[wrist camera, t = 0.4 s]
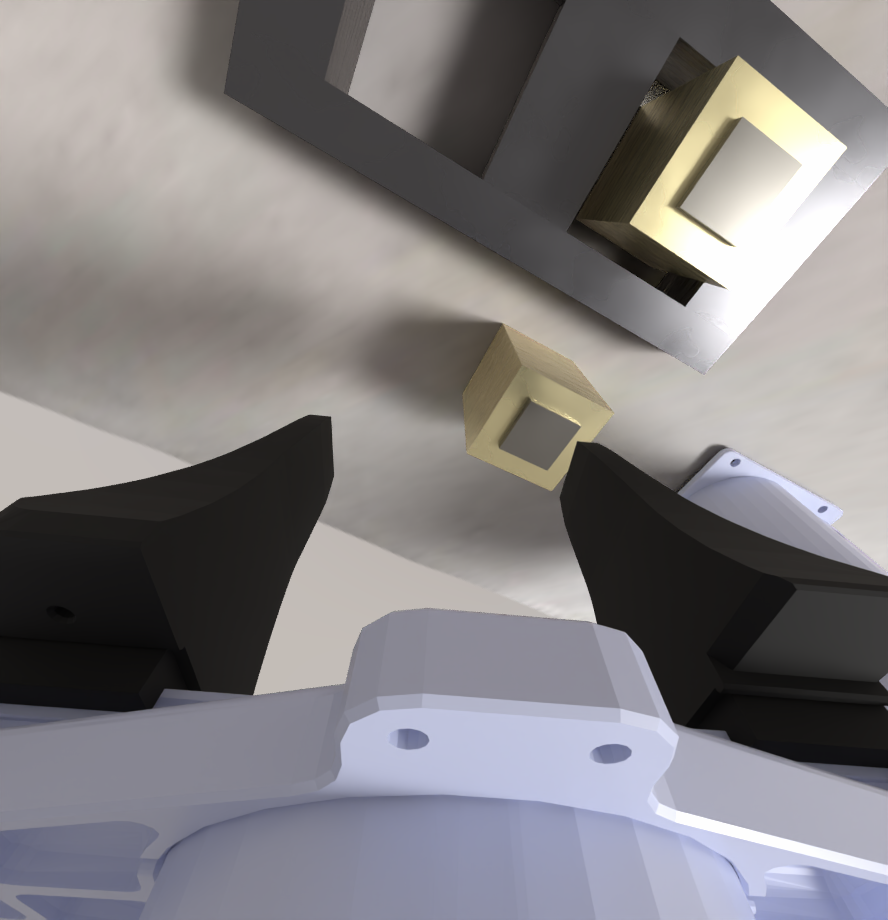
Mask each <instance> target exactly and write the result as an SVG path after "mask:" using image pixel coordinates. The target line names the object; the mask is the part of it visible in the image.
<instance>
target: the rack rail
mask: <svg viewBox="0 0 888 920" xmlns="http://www.w3.org/2000/svg"><path fill="white" fill-rule="evenodd" d="M554 1H555V2H557V3H558V4H559V5H560V6H559V9H558V11H557V13H556V15H555V17H554V20H553V22H552V24H551V26H550V28H549V31H548V33H547V35H546V37H545V39H544V41H543V44H542V46H541V48H540V50H539V52H538V55H537V57H536V59H535V61H534V63H533V65H532V68H531V70H530V72H529V74H528V76H527V79H526V81H525V83H524V85H523V87H522V89H521V92H520V94H519V96H518V98H517V100H516V103H515V105H514V107H513V109H512V111H511V113H510V116H509V118H508V120H507V122H506V124H505V127H504V129H503V131H502V133H501V135H500V138H499V140H498V142H497V144H496V146H495V148H494V151H493V153H492V155H491V157H490V159H489V162H488V164H487V166H486V168H485V170H484V172H483V175H482V177H481V178H479V177H478V176H476V175H475V174H473V173H471V172H470V171H468V170H467V169H465V168H463V167H462V166H460V165H459V164H457V163H455V162H454V161H452V160H451V159H449V158H448V157H446V156H444V155H443V154H441V153H440V152H438V151H436V150H435V149H433V148H432V147H430V146H428V145H427V144H425V143H424V142H422V141H420V140H419V139H417V138H416V137H414V136H413V135H411V134H409V133H408V132H406V131H405V130H403V129H401V128H400V127H398V126H397V125H395V124H393V123H392V122H390V121H389V120H387V119H386V118H384V117H382V116H381V115H379V114H378V113H376V112H374V111H373V110H371V109H370V108H368V107H366V106H365V105H363V104H362V103H360V102H358V101H357V100H355V99H354V98H352V97H351V96H349V95H348V92H349V88H350V85H351V81H352V78H353V74H354V71H355V68H356V64H357V61H358V57H359V54H360V50H361V47H362V43H363V40H364V37H365V33H366V30H367V26H368V23H369V19H370V16H371V12H372V9H373V6H374V2H375V0H240V2H239V8H238V14H237V20H236V26H235V32H234V37H233V43H232V49H231V55H230V61H229V67H228V73H227V79H226V85H225V91H224V93H225V94H227V95H228V96H230V97H232V98H233V99H235V100H237V101H238V102H240V103H242V104H244V105H245V106H247V107H249V108H250V109H252V110H254V111H256V112H257V113H259V114H261V115H262V116H264V117H266V118H267V119H269V120H271V121H273V122H274V123H276V124H278V125H279V126H281V127H283V128H284V129H286V130H288V131H290V132H291V133H293V134H295V135H296V136H298V137H300V138H302V139H303V140H305V141H307V142H308V143H310V144H312V145H313V146H315V147H317V148H319V149H320V150H322V151H324V152H325V153H327V154H329V155H330V156H332V157H334V158H336V159H337V160H339V161H341V162H342V163H344V164H346V165H348V166H349V167H351V168H353V169H354V170H356V171H358V172H359V173H361V174H363V175H365V176H366V177H368V178H370V179H371V180H373V181H375V182H376V183H378V184H380V185H382V186H383V187H385V188H387V189H388V190H390V191H392V192H393V193H395V194H397V195H399V196H400V197H402V198H404V199H405V200H407V201H409V202H411V203H412V204H414V205H416V206H417V207H419V208H421V209H422V210H424V211H426V212H428V213H429V214H431V215H433V216H434V217H436V218H438V219H439V220H441V221H443V222H445V223H446V224H448V225H450V226H451V227H453V228H455V229H457V230H458V231H460V232H462V233H463V234H465V235H467V236H468V237H470V238H472V239H474V240H475V241H477V242H479V243H480V244H482V245H484V246H485V247H487V248H489V249H491V250H492V251H494V252H496V253H497V254H499V255H501V256H503V257H504V258H506V259H508V260H509V261H511V262H513V263H514V264H516V265H518V266H520V267H521V268H523V269H525V270H526V271H528V272H530V273H531V274H533V275H535V276H537V277H538V278H540V279H542V280H543V281H545V282H547V283H549V284H550V285H552V286H554V287H555V288H557V289H559V290H560V291H562V292H564V293H566V294H567V295H569V296H571V297H572V298H574V299H576V300H577V301H579V302H581V303H583V304H584V305H586V306H588V307H589V308H591V309H593V310H595V311H596V312H598V313H600V314H601V315H603V316H605V317H606V318H608V319H610V320H612V321H613V322H615V323H617V324H618V325H620V326H622V327H623V328H625V329H627V330H629V331H630V332H632V333H634V334H635V335H637V336H639V337H640V338H642V339H644V340H646V341H647V342H649V343H651V344H652V345H654V346H656V347H658V348H659V349H661V350H663V351H664V352H666V353H668V354H669V355H671V356H673V357H675V358H676V359H678V360H680V361H681V362H683V363H685V364H686V365H688V366H690V367H692V368H693V369H695V370H697V371H698V372H700V373H702V374H705V373H706V372H707V371H708V370H709V369H710V368H711V367H712V365H713V364H714V363H715V362H716V361H717V360H718V359H719V357H720V356H721V355H722V354H723V353H724V352H725V351H726V349H727V348H728V347H729V346H730V345H731V344H732V343H733V342H734V340H735V339H736V338H737V337H738V336H739V335H740V334H741V332H742V331H743V330H744V329H745V328H746V327H747V326H748V324H749V323H750V322H751V321H752V320H753V319H754V318H755V317H756V315H757V314H758V313H759V312H760V311H761V310H762V309H763V307H764V306H765V305H766V304H767V303H768V302H769V301H770V299H771V298H772V297H773V296H774V295H775V294H776V293H777V292H778V290H779V289H780V288H781V287H782V286H783V285H784V284H785V282H786V281H787V280H788V279H789V278H790V277H791V276H792V274H793V273H794V272H795V271H796V270H797V269H798V268H799V267H800V265H801V264H802V263H803V262H804V261H805V260H806V259H807V257H808V256H809V255H810V254H811V253H812V252H813V251H814V249H815V248H816V247H817V246H818V245H819V244H820V243H821V242H822V240H823V239H824V238H825V237H826V236H827V235H828V234H829V232H830V231H831V230H832V229H833V228H834V227H835V226H836V224H837V223H838V222H839V221H840V220H841V219H842V218H843V217H844V215H845V214H846V213H847V212H848V211H849V210H850V209H851V207H852V206H853V205H854V204H855V203H856V202H857V201H858V199H859V198H860V197H861V196H862V195H863V194H864V193H865V191H866V190H867V189H868V188H869V187H870V186H871V185H872V184H873V182H874V181H875V180H876V179H877V178H878V177H879V176H880V174H881V173H882V172H883V171H884V170H885V169H886V168H887V166H888V107H887V106H885V105H884V104H883V103H882V102H881V101H880V100H879V99H878V98H877V97H876V96H875V95H873V94H872V93H871V92H870V91H869V90H868V89H867V88H866V87H865V86H864V85H862V84H861V83H860V82H859V81H858V80H857V79H856V78H855V77H854V76H853V75H851V74H850V73H849V72H848V71H847V70H846V69H845V68H844V67H843V66H842V65H840V64H839V63H838V62H837V61H836V60H835V59H834V58H833V57H832V56H831V55H829V54H828V53H827V52H826V51H825V50H824V49H823V48H822V47H821V46H820V45H819V44H817V43H816V42H815V41H814V40H813V39H812V38H811V37H810V36H809V35H808V34H806V33H805V32H804V31H803V30H802V29H801V28H800V27H799V26H798V25H797V24H795V23H794V22H793V21H792V20H791V19H790V18H789V17H788V16H787V15H786V14H784V13H783V12H782V11H781V10H780V9H779V8H778V7H777V6H776V5H775V4H773V3H772V2H771V1H770V0H554ZM736 56H740V57H741V58H742V59H743V60H744V61H745V62H747V63H748V64H749V65H750V66H751V67H753V68H754V69H755V70H756V71H757V72H758V73H760V74H761V75H762V76H763V77H764V78H766V79H767V80H768V81H769V82H770V83H771V84H773V85H774V86H775V87H776V88H777V89H779V90H780V91H781V92H782V93H783V94H784V95H786V96H787V97H788V98H789V99H790V100H792V101H793V102H794V103H795V104H796V105H797V106H799V107H800V108H801V109H802V110H803V111H805V112H806V113H807V114H808V115H809V116H811V117H812V118H813V119H814V120H815V121H816V122H818V123H819V124H820V125H821V126H822V127H824V128H825V129H826V130H827V131H828V132H829V133H831V134H832V135H833V136H834V137H835V138H837V139H838V140H839V141H840V142H841V143H842V144H844V145H845V146H846V147H847V148H846V150H845V151H844V152H843V153H842V154H841V156H840V157H839V158H838V159H837V161H836V162H835V163H834V164H833V165H832V167H831V168H830V169H829V170H828V171H827V173H826V174H825V175H824V176H823V178H822V179H821V180H820V181H819V182H818V184H817V185H816V186H815V187H814V189H813V190H812V191H811V192H810V193H809V195H808V196H807V197H806V198H805V199H804V201H803V202H802V203H801V204H800V206H799V207H798V208H797V209H796V210H795V212H794V213H793V214H792V215H791V217H790V218H789V219H788V220H787V221H786V223H785V224H784V225H783V226H782V228H781V229H780V230H779V231H778V232H777V234H776V235H775V236H774V237H773V238H772V240H771V241H770V242H769V243H768V245H767V246H766V247H765V248H764V249H763V251H762V252H761V253H760V254H759V256H758V257H757V258H756V259H755V260H754V262H753V263H752V264H751V265H750V266H749V268H748V269H747V270H746V271H745V273H744V274H743V275H742V276H741V277H740V279H739V280H738V281H737V282H736V284H735V285H734V286H733V287H732V288H731V290H728V289H725V288H721V287H718V286H714V285H711V284H708V283H704V282H701V281H697V280H694V279H691V278H687V277H684V276H680V275H677V274H673V273H670V272H668V273H667V274H666V275H665V277H664V278H663V280H662V281H661V282H660V284H659V285H658V286H657V288H654V287H653V286H651V285H650V284H648V283H646V282H645V281H643V280H642V279H640V278H638V277H637V276H635V275H634V274H632V273H630V272H629V271H627V270H626V269H624V268H622V267H621V266H619V265H618V264H616V263H615V262H613V261H611V260H610V259H608V258H607V257H605V256H603V255H602V254H600V253H599V252H597V251H595V250H594V249H592V248H591V247H589V246H587V245H586V244H584V243H583V242H581V241H580V240H578V239H576V238H575V237H573V236H572V235H570V234H568V233H567V230H568V228H569V226H570V225H571V223H572V221H573V220H574V218H575V216H576V214H577V213H578V211H579V209H580V208H581V206H582V204H583V202H584V201H585V199H586V197H587V196H588V194H589V192H590V190H591V189H592V187H593V185H594V184H595V182H596V180H597V178H598V177H599V175H600V173H601V171H602V170H603V168H604V166H605V165H606V163H607V161H608V159H609V158H610V156H611V154H612V153H613V151H614V149H615V147H616V146H617V144H618V142H619V141H620V139H621V137H622V135H623V134H624V132H625V130H626V129H627V127H628V125H629V123H630V122H631V120H632V118H633V117H634V115H635V113H636V111H637V110H638V108H639V106H640V105H641V103H642V101H643V99H644V98H645V96H646V94H647V92H648V91H649V89H650V87H651V86H652V84H653V82H654V80H655V79H656V80H657V81H658V82H659V83H661V84H662V85H663V86H665V87H666V88H667V89H668V90H670V91H672V90H674V89H675V88H677V87H679V86H681V85H683V84H685V83H687V82H689V81H691V80H692V79H694V78H696V77H698V76H700V75H702V74H704V73H706V72H708V71H709V70H711V69H713V68H715V67H717V66H719V65H721V64H723V63H724V62H726V61H728V60H730V59H732V58H734V57H736Z"/></svg>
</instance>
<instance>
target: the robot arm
mask: <svg viewBox="0 0 888 920" xmlns="http://www.w3.org/2000/svg"><path fill="white" fill-rule="evenodd" d="M734 459H736V460H735V461H734V462H732V463H731V461H732V460H734ZM333 477H334V467H333V446H332V425H331V417H328V416H318V415H308V416H305V417H303V418H300V419H298V420H296V421H294V422H292V423H290V424H288V425H287V426H285V427H283V428H281V429H279V430H277V431H275V432H273V433H271V434H269V435H267V436H265V437H263V438H261V439H259V440H257V441H254V442H252V443H250V444H248V445H246V446H243V447H241V448H239V449H237V450H235V451H232V452H230V453H227V454H225V455H222V456H220V457H217V458H214V459H211V460H209V461H206V462H203V463H200V464H197V465H194V466H191V467H187V468H184V469H180V470H176V471H173V472H169V473H166V474H162V475H158V476H154V477H150V478H146V479H141V480H137V481H132V482H127V483H122V484H117V485H111V486H106V487H100V488H94V489H88V490H81V491H73V492H66V493H58V494H50V495H43V496H34V497H25V498H20V499H18V500H17V501H15V502H14V503H12V504H11V505H9V506H8V507H7V508H5V509H4V510H2V511H1V512H0V920H888V572H887V571H886V570H885V569H883V568H882V567H881V566H880V565H879V564H877V563H876V562H875V561H874V560H873V559H871V558H870V557H869V556H868V555H867V554H865V553H864V552H863V551H862V550H861V549H859V548H858V547H857V546H856V545H855V544H853V543H852V542H851V541H850V540H849V539H847V538H846V537H845V536H844V535H843V534H841V533H840V532H839V531H838V530H837V529H835V528H834V527H833V526H832V525H831V524H833V523H834V522H835V521H837V520H838V519H839V518H840V517H841V516H842V514H843V510H842V509H840V508H839V507H838V506H836V505H834V504H833V503H831V502H829V501H827V500H825V499H823V498H822V497H820V496H818V495H816V494H814V493H812V492H810V491H809V490H807V489H805V488H803V487H801V486H799V485H798V484H796V483H794V482H792V481H790V480H788V479H787V478H785V477H783V476H781V475H779V474H777V473H776V472H774V471H772V470H770V469H768V468H766V467H764V466H763V465H761V464H759V463H757V462H755V461H753V460H752V459H750V458H748V457H746V456H744V455H742V454H741V453H739V452H737V451H735V450H733V449H731V448H725V449H722V450H721V451H719V452H718V453H717V454H716V455H715V456H714V457H713V458H712V459H711V460H710V461H709V462H708V463H707V464H706V465H705V466H704V467H703V468H702V469H701V470H700V471H699V472H698V473H697V474H696V475H695V476H694V477H693V478H692V479H691V480H690V481H689V482H688V483H687V484H686V485H685V486H684V487H683V488H682V489H681V490H680V491H679V492H678V493H676V492H674V491H672V490H671V489H669V488H667V487H666V486H664V485H662V484H661V483H659V482H658V481H656V480H655V479H653V478H651V477H650V476H648V475H647V474H645V473H644V472H642V471H641V470H639V469H638V468H636V467H635V466H634V465H632V464H631V463H629V462H628V461H626V460H625V459H623V458H622V457H620V456H619V455H617V454H616V453H614V452H613V451H611V450H609V449H608V448H606V447H604V446H602V445H600V444H598V443H591V442H581V441H577V443H576V446H575V450H574V453H573V456H572V459H571V463H570V466H569V469H568V472H567V476H566V479H565V482H564V485H563V489H562V492H561V495H560V501H561V507H562V513H563V517H564V522H565V526H566V529H567V532H568V535H569V538H570V541H571V543H572V546H573V549H574V552H575V555H576V557H577V560H578V563H579V565H580V568H581V571H582V574H583V576H584V579H585V582H586V585H587V587H588V591H589V594H590V597H591V600H592V604H593V608H594V612H595V617H596V621H597V624H595V623H592V622H588V621H577V620H565V619H553V618H540V617H528V616H518V615H517V616H516V615H506V614H494V613H482V612H469V611H458V610H444V609H433V608H424V609H412V610H401V611H393V612H391V613H389V614H387V615H385V616H383V617H381V618H380V619H378V620H376V621H375V622H373V623H371V624H369V625H367V626H365V627H363V628H362V630H361V633H360V635H359V638H358V640H357V642H356V644H355V647H354V649H353V653H352V657H351V662H350V666H349V670H348V674H347V679H346V683H345V684H340V685H331V686H324V687H316V688H308V689H300V690H293V691H285V692H277V693H270V694H262V695H253V694H254V690H255V686H256V683H257V679H258V676H259V673H260V670H261V666H262V663H263V659H264V656H265V653H266V650H267V646H268V643H269V640H270V637H271V634H272V630H273V628H274V624H275V621H276V618H277V615H278V612H279V609H280V606H281V603H282V601H283V598H284V595H285V592H286V589H287V586H288V583H289V581H290V578H291V575H292V572H293V570H294V568H295V565H296V563H297V561H298V559H299V557H300V555H301V553H302V551H303V549H304V547H305V545H306V543H307V541H308V539H309V537H310V534H311V533H312V530H313V528H314V526H315V524H316V522H317V520H318V518H319V516H320V514H321V512H322V510H323V508H324V505H325V503H326V500H327V497H328V494H329V491H330V488H331V484H332V481H333Z"/></svg>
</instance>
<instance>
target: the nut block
mask: <svg viewBox="0 0 888 920" xmlns="http://www.w3.org/2000/svg"><path fill="white" fill-rule="evenodd" d="M462 395H463V409H464V422H465V436H466V450H467V454H469V455H471V456H474V457H476V458H478V459H480V460H483V461H485V462H487V463H489V464H492V465H494V466H496V467H498V468H500V469H503V470H505V471H507V472H509V473H512V474H514V475H516V476H518V477H521V478H523V479H525V480H527V481H530V482H532V483H534V484H536V485H538V486H541V487H543V488H545V489H547V490H550V491H552V490H553V489H554V488H555V487H556V485H557V484H558V483H559V482H560V480H561V479H562V478H563V477H564V475H565V474H566V473H567V472H568V469H569V466H570V463H571V459H572V456H573V453H574V450H575V446H576V443H577V441H581V442H592V440H593V439H594V438H595V437H596V435H597V434H598V433H599V432H600V430H601V429H602V428H603V427H604V425H605V424H606V423H607V422H608V420H609V419H610V418H611V417H612V415H613V414H614V412H613V411H612V410H611V408H610V407H609V406H608V405H607V403H606V402H605V401H604V400H603V399H602V397H601V396H600V395H599V394H598V392H597V391H596V390H595V389H594V387H593V386H592V385H591V384H590V382H589V381H588V380H587V379H586V377H585V376H584V375H583V374H582V372H581V371H580V370H579V369H578V367H577V366H576V365H575V364H574V362H573V361H571V360H570V359H568V358H566V357H564V356H562V355H560V354H558V353H557V352H555V351H553V350H551V349H549V348H547V347H546V346H544V345H542V344H540V343H538V342H536V341H535V340H533V339H531V338H529V337H527V336H525V335H524V334H522V333H520V332H518V331H516V330H514V329H513V328H511V327H509V326H507V325H505V324H502V325H501V327H500V329H499V331H498V332H497V334H496V336H495V338H494V339H493V341H492V343H491V345H490V346H489V348H488V350H487V352H486V353H485V355H484V357H483V359H482V361H481V362H480V364H479V366H478V368H477V369H476V371H475V373H474V375H473V376H472V378H471V380H470V382H469V383H468V385H467V387H466V389H465V390H464V392H463V394H462Z"/></svg>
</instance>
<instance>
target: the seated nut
mask: <svg viewBox="0 0 888 920" xmlns="http://www.w3.org/2000/svg"><path fill="white" fill-rule="evenodd" d="M846 148H847V147H846V146H845V145H844V144H842V143H841V142H840V141H839V140H838V139H837V138H835V137H834V136H833V135H832V134H831V133H829V132H828V131H827V130H826V129H825V128H824V127H822V126H821V125H820V124H819V123H818V122H816V121H815V120H814V119H813V118H812V117H811V116H809V115H808V114H807V113H806V112H805V111H803V110H802V109H801V108H800V107H799V106H797V105H796V104H795V103H794V102H793V101H792V100H790V99H789V98H788V97H787V96H786V95H784V94H783V93H782V92H781V91H780V90H779V89H777V88H776V87H775V86H774V85H773V84H771V83H770V82H769V81H768V80H767V79H766V78H764V77H763V76H762V75H761V74H760V73H758V72H757V71H756V70H755V69H754V68H753V67H751V66H750V65H749V64H748V63H747V62H745V61H744V60H743V59H742V58H741V57H740V56H736V57H734V58H732V59H730V60H728V61H726V62H724V63H723V64H721V65H719V66H717V67H715V68H713V69H711V70H709V71H708V72H706V73H704V74H702V75H700V76H698V77H696V78H694V79H692V80H691V81H689V82H687V83H685V84H683V85H681V86H679V87H677V88H675V89H674V90H672V91H670V92H668V93H666V94H664V95H662V96H660V97H659V98H657V99H655V100H653V101H651V102H649V103H647V104H645V105H643V106H642V107H641V108H640V110H639V111H638V113H637V115H636V116H635V118H634V120H633V122H632V123H631V125H630V127H629V128H628V130H627V132H626V134H625V135H624V137H623V139H622V140H621V142H620V144H619V146H618V147H617V149H616V151H615V152H614V154H613V156H612V158H611V159H610V161H609V163H608V164H607V166H606V168H605V169H604V171H603V173H602V175H601V176H600V178H599V180H598V181H597V183H596V185H595V187H594V188H593V190H592V192H591V193H590V195H589V197H588V199H587V200H586V202H585V204H584V205H583V207H582V209H581V211H580V212H579V214H578V216H577V217H576V219H577V220H578V221H580V222H582V223H583V224H585V225H586V226H588V227H589V228H591V229H592V230H594V231H596V232H597V233H599V234H600V235H602V236H603V237H605V238H606V239H608V240H610V241H611V242H613V243H614V244H616V245H617V246H619V247H621V248H622V249H624V250H625V251H627V252H628V253H630V254H631V255H633V256H635V257H636V258H638V259H639V260H641V261H642V262H644V263H645V264H647V265H649V266H650V267H653V268H656V269H660V270H663V271H667V272H670V273H673V274H677V275H680V276H684V277H687V278H691V279H694V280H697V281H701V282H704V283H708V284H711V285H714V286H718V287H721V288H725V289H728V290H731V288H732V287H733V286H734V285H735V284H736V282H737V281H738V280H739V279H740V277H741V276H742V275H743V274H744V273H745V271H746V270H747V269H748V268H749V266H750V265H751V264H752V263H753V262H754V260H755V259H756V258H757V257H758V256H759V254H760V253H761V252H762V251H763V249H764V248H765V247H766V246H767V245H768V243H769V242H770V241H771V240H772V238H773V237H774V236H775V235H776V234H777V232H778V231H779V230H780V229H781V228H782V226H783V225H784V224H785V223H786V221H787V220H788V219H789V218H790V217H791V215H792V214H793V213H794V212H795V210H796V209H797V208H798V207H799V206H800V204H801V203H802V202H803V201H804V199H805V198H806V197H807V196H808V195H809V193H810V192H811V191H812V190H813V189H814V187H815V186H816V185H817V184H818V182H819V181H820V180H821V179H822V178H823V176H824V175H825V174H826V173H827V171H828V170H829V169H830V168H831V167H832V165H833V164H834V163H835V162H836V161H837V159H838V158H839V157H840V156H841V154H842V153H843V152H844V151H845V150H846Z"/></svg>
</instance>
